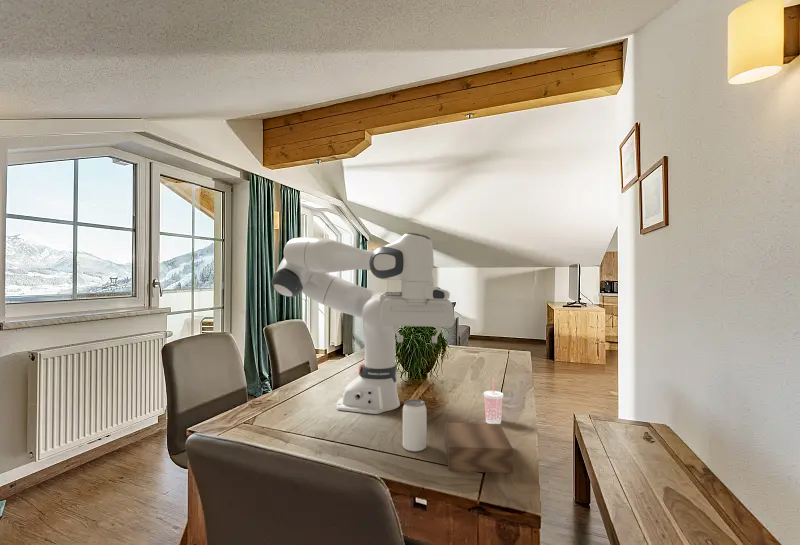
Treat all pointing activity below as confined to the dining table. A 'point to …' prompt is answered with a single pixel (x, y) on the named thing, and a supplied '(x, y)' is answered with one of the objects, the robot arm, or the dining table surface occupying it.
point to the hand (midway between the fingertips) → (417, 342)
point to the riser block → (478, 448)
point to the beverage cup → (493, 406)
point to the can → (414, 425)
